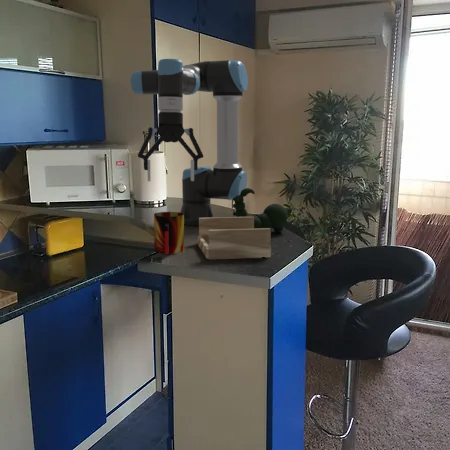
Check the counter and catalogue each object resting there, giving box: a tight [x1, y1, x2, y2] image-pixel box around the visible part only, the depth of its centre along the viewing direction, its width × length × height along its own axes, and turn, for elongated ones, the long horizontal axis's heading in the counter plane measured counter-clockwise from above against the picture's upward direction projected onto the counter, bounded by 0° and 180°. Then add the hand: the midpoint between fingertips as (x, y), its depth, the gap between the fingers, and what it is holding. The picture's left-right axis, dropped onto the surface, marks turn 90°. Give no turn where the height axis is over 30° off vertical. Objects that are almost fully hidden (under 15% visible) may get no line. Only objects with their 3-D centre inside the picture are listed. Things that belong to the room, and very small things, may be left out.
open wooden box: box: [197, 216, 272, 261], centre depth 172 cm, size 22×20×9 cm
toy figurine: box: [232, 187, 293, 233], centre depth 198 cm, size 9×19×25 cm
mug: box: [153, 211, 185, 255], centre depth 169 cm, size 10×14×12 cm
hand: (170, 180), depth 165 cm, fingers open, 13 cm apart
